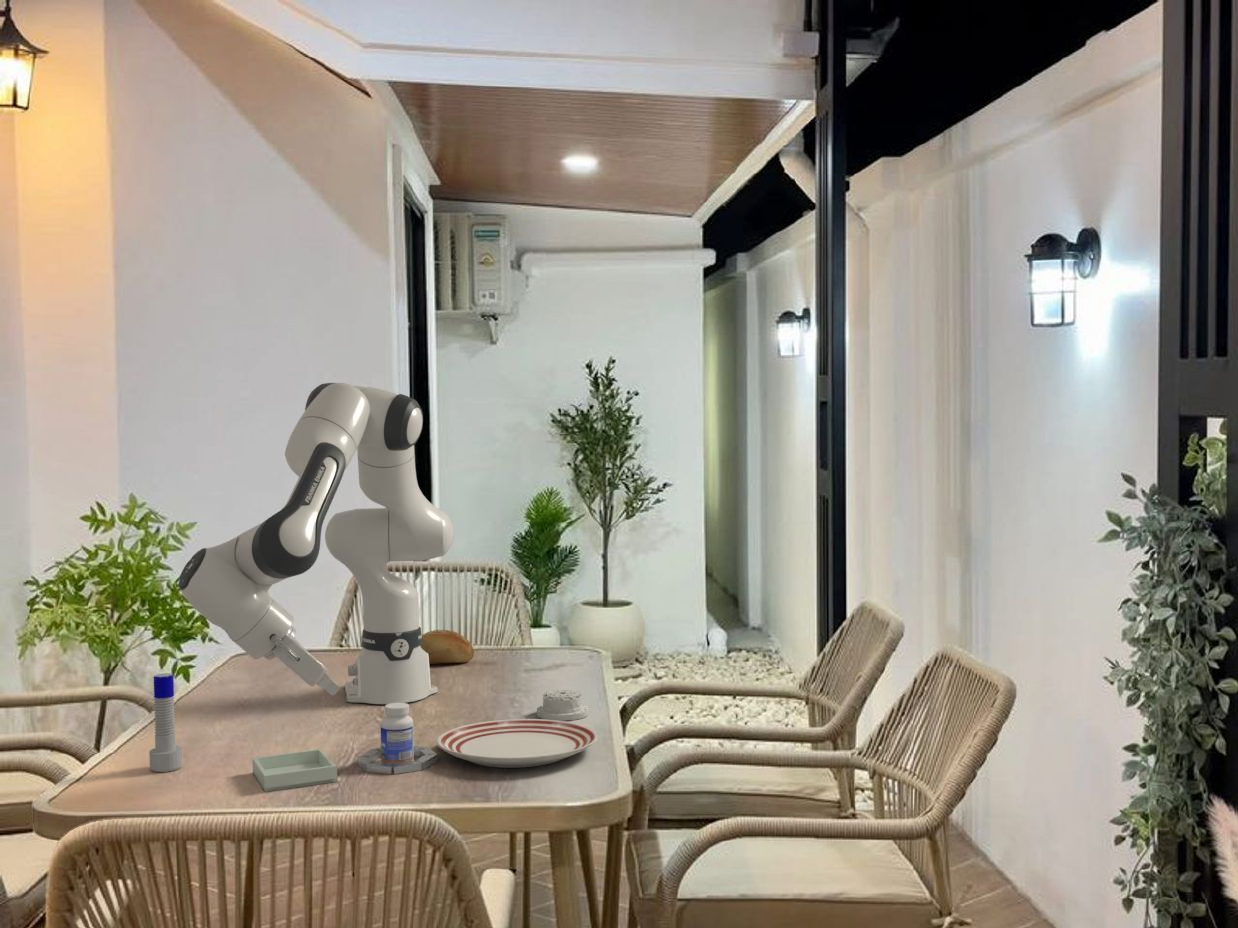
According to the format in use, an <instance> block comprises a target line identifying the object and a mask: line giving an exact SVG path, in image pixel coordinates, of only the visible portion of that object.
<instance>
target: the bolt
mask: <svg viewBox="0 0 1238 928" xmlns="http://www.w3.org/2000/svg"><path fill="white" fill-rule="evenodd" d="M174 679H175V678H174V675H173V674H172V673H170V672H169V673H167V672H165V673H158V674H155V675H154V676H153V700H154V702H153V703H154V708H153V709H154V711H153V712H154V731H155V732H154V733H155V734H154V742H155V743H154V745H155V747H154V748H151V749H150V750H149V752H148V753H149V755H148V756H149V769H150V771H151V772H155V773H167V772H168V773H169V771H170V772H173V771H174V772H175V771H176V770H179V769H181V767H182V766H183V755H182V754H183V753H182V752H183V750H182V747H181V746H180V745H179V746H178V745H176V727H175V726H176V725H175V723H176V722H175V721H176V720H175V718H176V717H175V715H176V714H175V683H174Z"/></svg>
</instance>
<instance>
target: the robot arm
mask: <svg viewBox="0 0 1238 928" xmlns="http://www.w3.org/2000/svg"><path fill="white" fill-rule="evenodd" d="M419 404H420V403H418V401H417V400H416V399H414V398H412V397H410V396H408V395H405V394H402V393H399V394H398V393H397V394H396V393H394V392H391V391H387V390H384V389H380V388H376V387H370V386H367V387H366V386H359V385H351V384H348V383H344V382H327V383H321V384H319V385H318V386H316V387H315V388H313V390H312V391H310V394H309V395H308V397H307V400H306V403H305V408H304V412H303V413H302V415H301V417H300V418H299V419H298V421H297V423H296V425H295V426H294V428H293V430H292V432H291V434H290V436H289V438H288V440H287V444H286V447H285V450H284V451H285V452H284V456H285V460H286V462H287V465H288V466H289V469H290V470H291V471H292V472H293V473H294V474H295V475H296V476H297V477H298V479H297V481H296V483H295V485H294V487H293V489H292V491H291V493H290V495H289V497H288V499H287V502H286V504H285V505H284V507H282V508H281V510H279V511H277V512H276V513H274V514H273V515H271V516H270V517H268V518H266V519H265V520H264V521H262V522H261V523H259V524H257V525H255V526H252V528H250V529H247V530H246V531H244V532H242V533H240V534H239V535H237V536H235V537H233V538H231V539H230V540H227V541H225V542H223V543H220V544H217V545H214V546H211V547H203V548H201V549H200V550H198V551H196V553H194V554H193V555H192V557H191V558H190V559H189V560H188V561H187V563H186V564H185V565H184V567H183V569H182V571H181V573H180V574H179V579H178V588H179V591H180V592H181V594H182V595H183V597H184V598H185V599H186V601H187V602H188V603H189V604H190V606H192V607H193V608H194V609H195V610H196V611H197V612H199V614H200V615H202V616H203V617H204V618H205V619H206V620H207V621H209V623H211V624H212V625H214V626H217V627H219V628H221V630H223V631H224V632H225V633H226V634H227V636H228V638H229V639H230V640H231V641H232V642H233V643H235V645H237V646H238V647H240V648H241V649H242V650H243V651H244V652H245V653H246V654H248V655H249V656H250V657H251V658H252V659H253V660H259V659H261V658H263V657H264V658H265V659H266V660H268V661H269V660H273V659H274V658H277V659H278V660H280V661H281V662H282V664H284V665H285V666H286V667H287V668H289V669H290V670H291V671H292V672H293V673H295V675H296V676H297V677H299V678H300V679H301V680H302V681H304V682H305V683H306V684H308V685H309V686H311V687H315V685H317V686H318V687H320V688H322V690H324V691H326V692H327V693H328V694H329V695H330V696H335V695H336V694H337V693H338V692H339V690H340V686H339V685H338V684H337V683H336V682H335V681H333V679H332V678H331V677H330V676H329V675H328V674H327V673H328V668H327V667H326V666H325V665H324V664H323V662H321V661H320V660H318V659H317V658H316V656H314V655H313V654H312V653H310V652H309V651H308V649H306V648H304V647H303V645H301V643H300V642H299V641H298V640H297V639H296V638H295V635H296V631H297V629H296V628H294V626H292V625H293V623H294V620H295V619H294V616H293V615H292V614H291V613H289V611H287V610H286V609H285V608H284V607H282V605H280V604H279V603H278V602H277V601H276V600H275V599H273V598H272V597H271V596H270V594H269V590H270V589H271V587H272V586H273V585H276V584H278V583H279V582H281V581H284V580H286V579H290V578H291V577H295V576H299V575H302V574H304V573H306V572H307V571H309V570H310V569H311V568H312V567H313V566H314V564H315V562H316V561H317V560H318V556H319V554H320V550H321V541H322V540H321V537H322V536H321V535H322V529H323V528H322V527H323V524H324V522H325V521H324V520H325V519H326V515H327V513H328V511H329V508H330V506H331V504H332V502H333V499H334V497H335V495H336V492H337V491H338V488H339V486H340V483H341V481H342V478H343V476H344V473H345V471H346V470H347V468H348V466H349V464H350V463H351V461H352V458H353V457H354V456H355V454H357V469H358V483H359V487H360V490H361V491H362V493H364V494H363V495H365V496H366V497H367V498H368V499H369V500H370V501H372V502H373V503H376V504H378V505H380V506H382V508H381V507H379V508H377V507H375V508H354V509H349V510H345V511H341V512H336V513H334V515H333V516H332V517H331V518H330V519H329V521H328V522H327V524H326V527H325V533H324V540H325V545H326V547H327V550H328V551H329V553H330V555H331V556H332V557H333V558H334V559H336V560H337V561H339V562H340V563H341V564H342V565H343V566H345V568H347V569H348V570H349V572H351V573H352V575H353V577H354V578H355V580H356V582H357V584H358V587H359V589H360V593H361V597H362V607H363V608H362V609H363V621H364V622H363V624H364V628H363V629H362V633H361V647H362V648H361V650H360V652H359V653H358V656H357V658H356V659H355V663H352V664H349V665H348V666H347V671H348V672H347V675H348V677H354V678H352V680H350V681H347V682H345V683H344V691H345V697H346V702H348V703H364V704H372V705H387V704H391V703H406V704H407V703H410V702H411V703H412V702H417V701H419V700H423V699H426V698H427V697H428V696H430V695H432V694H435V693H436V694H437V693H438V691H439V690H438V686H436V685H433V684H431V683H432V682H431V673H430V672H431V670H430V664H429V656H428V653H426V652H425V651H424V650H423V649H422V648H421V646H420V645H421V644H422V639H421V638H422V635H423V633H422V628H421V627H420V615H419V613H420V611H419V609H420V608H419V607H420V606H419V593H418V590H417V588H416V587H415V586H414V585H413V584H412V583H411V582H409V581H407V580H406V579H403V578H402V577H399V576H396V575H394V574H393V573H391V572H390V571H389V569H388V567H387V563H390V562H392V563H393V562H420V561H427V560H431V559H436V558H440V557H444V556H445V555H446V554H447V553H448V552H449V550H450V548H451V546H452V544H453V541H454V536H455V532H454V529H455V528H454V526H453V523H452V520H451V518H450V517H449V516H448V514H447V513H446V512H445V511H443V510H442V509H440V508H438V507H437V506H435V505H434V504H432V502H430V501H429V500H428V499H427V497H426V496H425V495H424V494H423V492H422V490H421V489H420V487H419V483H418V478H417V471H416V470H417V469H416V454H415V445H416V443H417V442H418V440H419V438H420V436H421V433H422V430H423V423H424V413H423V410H422V408H421V406H420V405H419ZM356 452H357V453H356Z"/></svg>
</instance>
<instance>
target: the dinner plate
mask: <svg viewBox="0 0 1238 928" xmlns="http://www.w3.org/2000/svg"><path fill="white" fill-rule="evenodd" d="M598 737H599V735H598V734H597V731H596V730H594V729H592V728H590V727H588V726H586V725H583V724H580V723H576V722H570V721H558V720H546V719H542V718H515V719H514V718H512V719H497V720H490V721H488V720H487V721H482V722H474V723H470V724H464V725H461V726H458V727H454V728H452V729H449V730H447V731H444V732H443V733H442V734H441V735H439V736H438V737H437V741H436V744H437V746H438V747H439V748H440V749H441V750H443V751H444V752H446V753H447V754H450V755H452V756H453V757H456V758H459V759H462V760H465V761H468V762H471V763H473V764H475V765H480V766H484V767H490V768H503V769H507V768H508V769H514V768H515V769H516V768H517V769H518V768H519V769H521V768H529V767H530V768H532V767H539V766H544V765H549V764H553V763H556V762H559V761H562V760H564V759H567V758H569V757H572V756H573V755H576V754H579V753H581V752H583V751H584V750H586V749H588V748H589V747H590V746H592V745H593V744H595V743H596V742H597V740H598V739H599V738H598Z"/></svg>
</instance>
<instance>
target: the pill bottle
mask: <svg viewBox="0 0 1238 928" xmlns="http://www.w3.org/2000/svg"><path fill="white" fill-rule="evenodd" d="M409 714H410V705H409V704H408V703H407V702H406V703H391V704H384V715H385V716H384V717H383V718H382V719H381V721H380V748H381V758H380V762H382V763H393V764H395V763H402V762H409V761H415V760H414V757H415V756H414V753H413V746H414V720H413V718H412V716H410V715H409Z"/></svg>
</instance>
